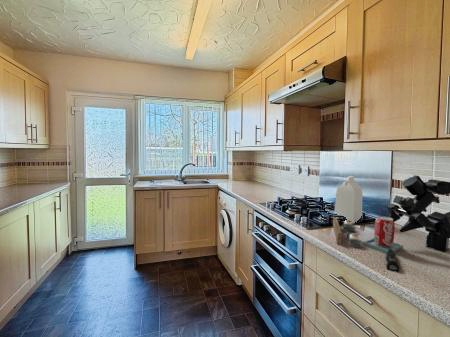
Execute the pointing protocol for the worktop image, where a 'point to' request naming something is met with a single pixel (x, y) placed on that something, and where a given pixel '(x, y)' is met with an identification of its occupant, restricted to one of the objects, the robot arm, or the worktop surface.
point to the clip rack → (346, 229)
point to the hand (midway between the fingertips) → (392, 228)
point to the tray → (373, 245)
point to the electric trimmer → (391, 261)
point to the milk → (349, 200)
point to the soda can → (384, 231)
